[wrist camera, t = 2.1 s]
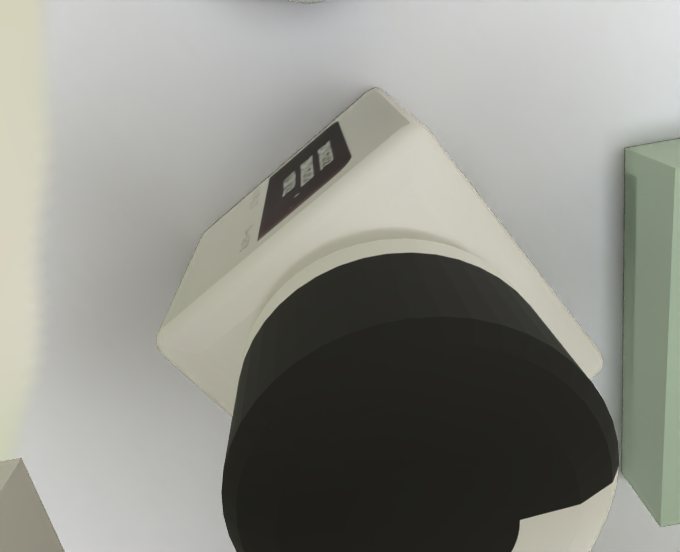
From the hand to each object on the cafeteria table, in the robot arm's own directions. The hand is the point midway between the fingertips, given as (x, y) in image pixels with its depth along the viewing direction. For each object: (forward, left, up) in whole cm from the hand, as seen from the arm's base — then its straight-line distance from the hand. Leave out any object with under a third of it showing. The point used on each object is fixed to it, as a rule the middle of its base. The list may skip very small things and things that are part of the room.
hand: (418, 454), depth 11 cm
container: (0, 0, -12) cm, 12 cm away
